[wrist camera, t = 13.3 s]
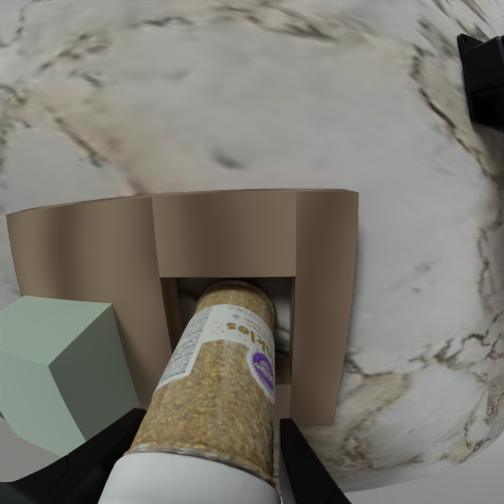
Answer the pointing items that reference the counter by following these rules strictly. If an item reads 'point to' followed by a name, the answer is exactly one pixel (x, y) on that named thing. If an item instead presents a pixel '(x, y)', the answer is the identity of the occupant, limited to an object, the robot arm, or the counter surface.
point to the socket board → (203, 273)
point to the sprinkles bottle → (209, 411)
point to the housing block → (62, 371)
